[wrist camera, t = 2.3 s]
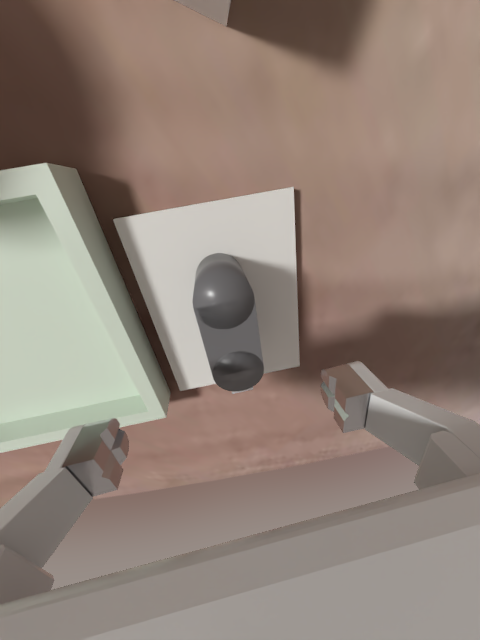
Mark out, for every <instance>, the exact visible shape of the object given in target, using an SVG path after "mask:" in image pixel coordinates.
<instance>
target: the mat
mask: <svg viewBox="0 0 480 640" xmlns="http://www.w3.org/2000/svg"><path fill="white" fill-rule="evenodd" d="M113 221H114V224H115V226H116V229H117V232H118V234H119V237H120V239H121V242H122V244H123V247H124V249H125V252H126V254H127V257H128V260H129V262H130V265H131V267H132V270H133V272H134V275H135V277H136V280H137V282H138V285H139V288H140V290H141V293H142V295H143V298H144V300H145V303H146V305H147V308H148V311H149V313H150V316H151V318H152V321H153V323H154V326H155V328H156V331H157V333H158V336H159V339H160V341H161V344H162V346H163V349H164V351H165V354H166V356H167V359H168V361H169V364H170V367H171V369H172V372H173V374H174V377H175V379H176V382H177V384H178V387H179V389H180V391H183V390H188V389H193V388H197V387H202V386H207V385H212V384H216V383H215V381H214V379H213V376H212V372H211V369H210V365H209V362H208V358H207V355H206V351H205V348H204V344H203V341H202V337H201V334H200V330H199V326H198V323H197V319H196V316H195V312H194V309H193V292H194V284H195V276H196V270H197V267H198V265H199V264H200V262H201V261H202V260H203V259H204V258H205V257H207V256H209V255H211V254H215V253H224V254H228V255H230V256H232V257H234V258H235V259H236V260H237V261H238V262H239V264H240V265H241V267H242V269H243V271H244V274H245V276H246V278H247V280H248V282H249V284H250V286H251V288H252V290H253V293H254V298H255V305H256V313H257V320H258V327H259V335H260V342H261V350H262V357H263V365H264V373H269V372H274V371H279V370H283V369H288V368H293V367H298V366H300V359H299V329H298V300H297V270H296V240H295V211H294V187H289V188H284V189H278V190H273V191H267V192H261V193H256V194H250V195H244V196H239V197H233V198H228V199H222V200H216V201H211V202H205V203H200V204H194V205H188V206H183V207H177V208H172V209H166V210H160V211H155V212H149V213H143V214H138V215H132V216H127V217H121V218H116V219H113ZM264 373H263V374H264Z"/></svg>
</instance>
